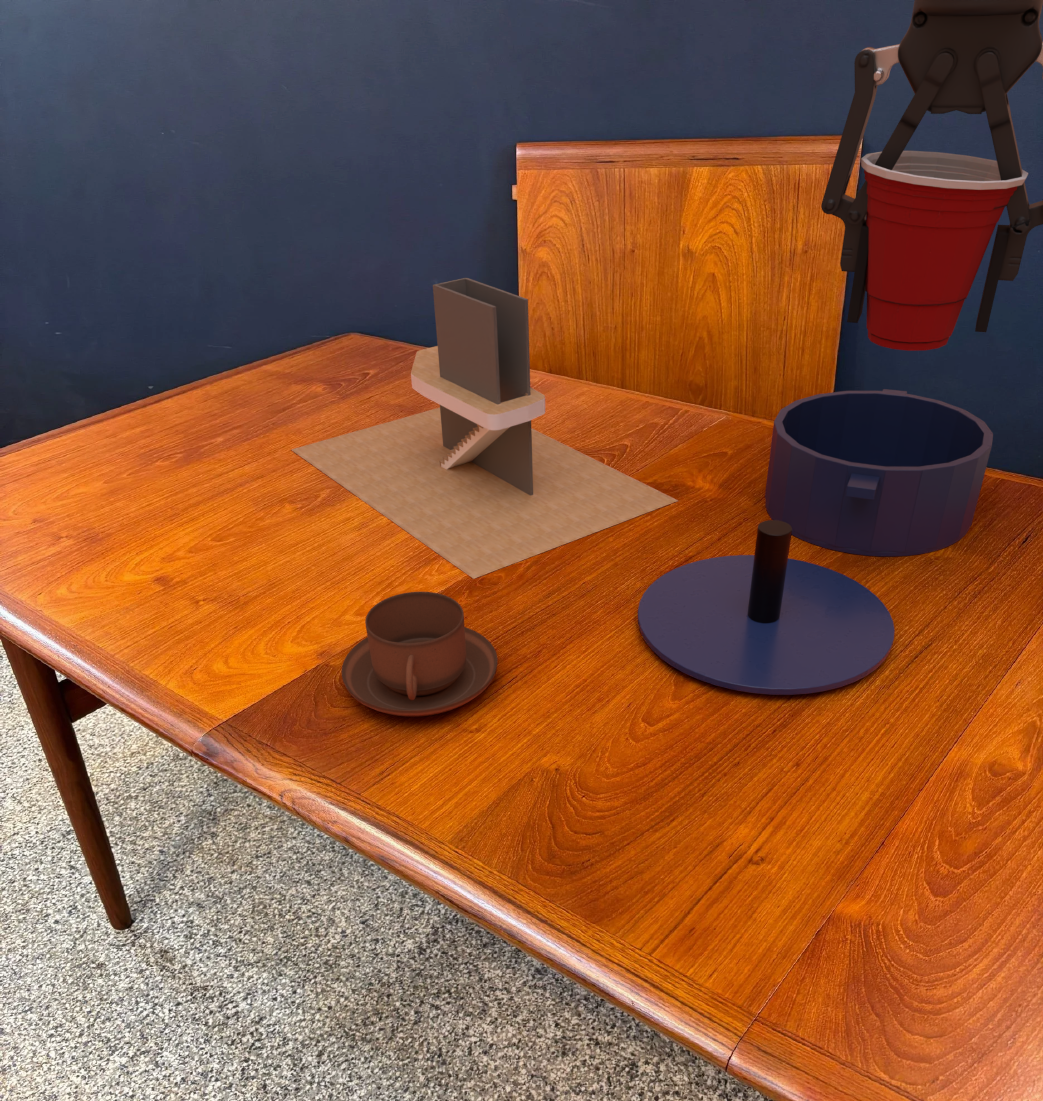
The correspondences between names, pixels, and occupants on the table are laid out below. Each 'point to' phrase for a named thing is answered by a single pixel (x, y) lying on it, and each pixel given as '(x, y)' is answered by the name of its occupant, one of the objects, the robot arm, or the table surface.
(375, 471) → the architectural model
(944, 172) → the plastic cup
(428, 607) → the cup and saucer
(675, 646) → the pot lid
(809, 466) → the pot
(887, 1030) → the table surface
